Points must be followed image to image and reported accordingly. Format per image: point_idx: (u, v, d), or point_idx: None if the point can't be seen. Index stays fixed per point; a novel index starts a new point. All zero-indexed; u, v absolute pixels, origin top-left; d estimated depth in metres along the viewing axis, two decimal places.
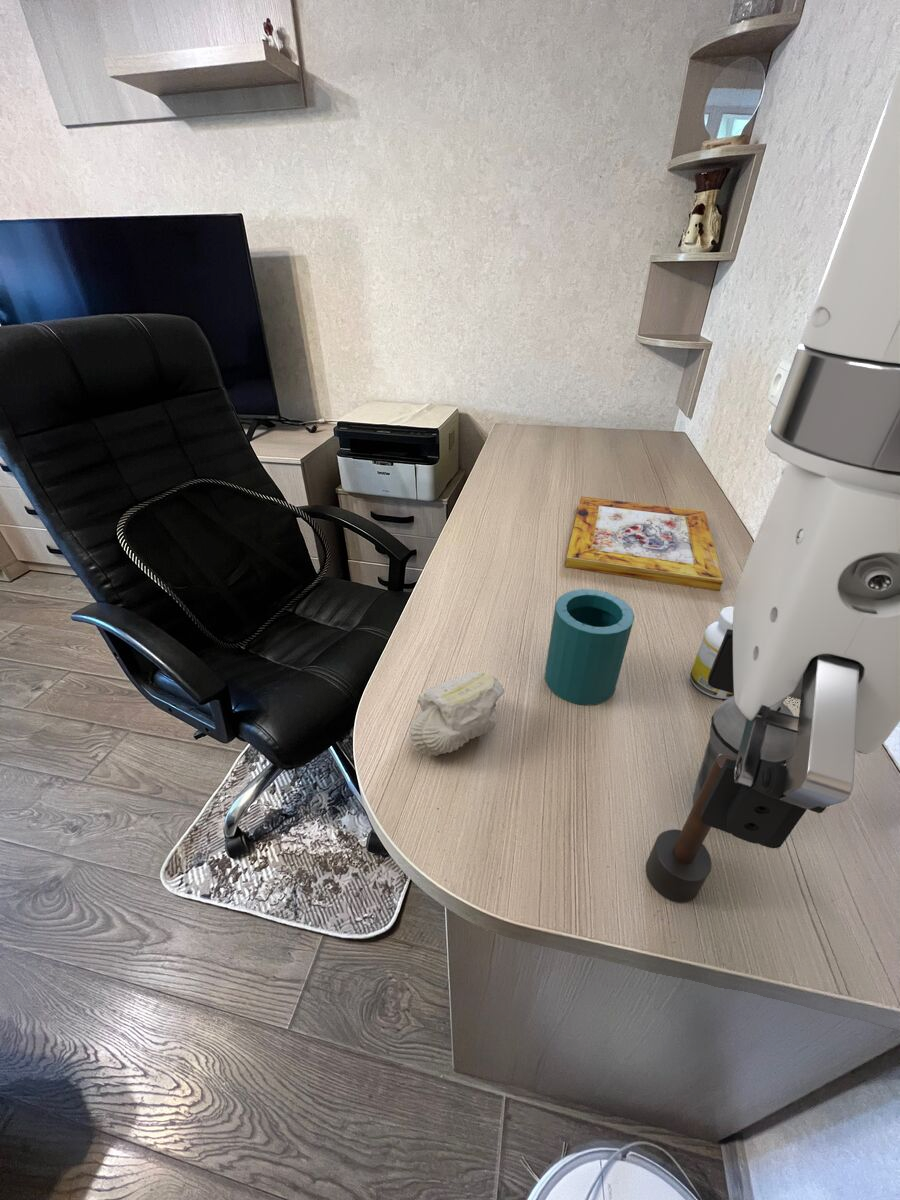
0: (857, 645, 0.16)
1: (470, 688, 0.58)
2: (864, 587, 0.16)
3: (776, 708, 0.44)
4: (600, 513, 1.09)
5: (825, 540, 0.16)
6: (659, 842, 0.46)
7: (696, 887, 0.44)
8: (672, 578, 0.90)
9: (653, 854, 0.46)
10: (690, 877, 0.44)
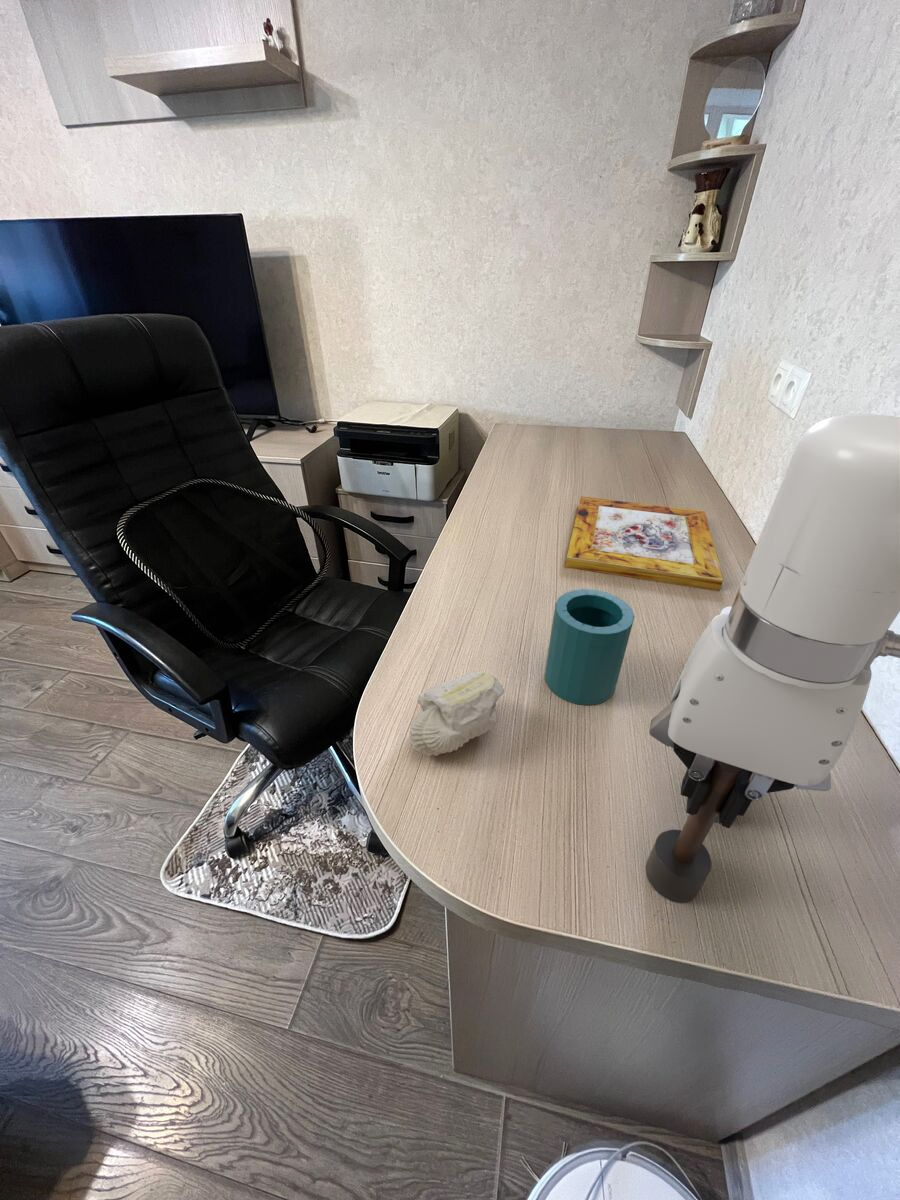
0: None
1: (470, 688, 0.58)
2: None
3: None
4: (600, 513, 1.09)
5: (862, 705, 0.30)
6: (659, 842, 0.46)
7: (696, 887, 0.44)
8: (672, 578, 0.90)
9: (653, 854, 0.46)
10: (690, 877, 0.44)
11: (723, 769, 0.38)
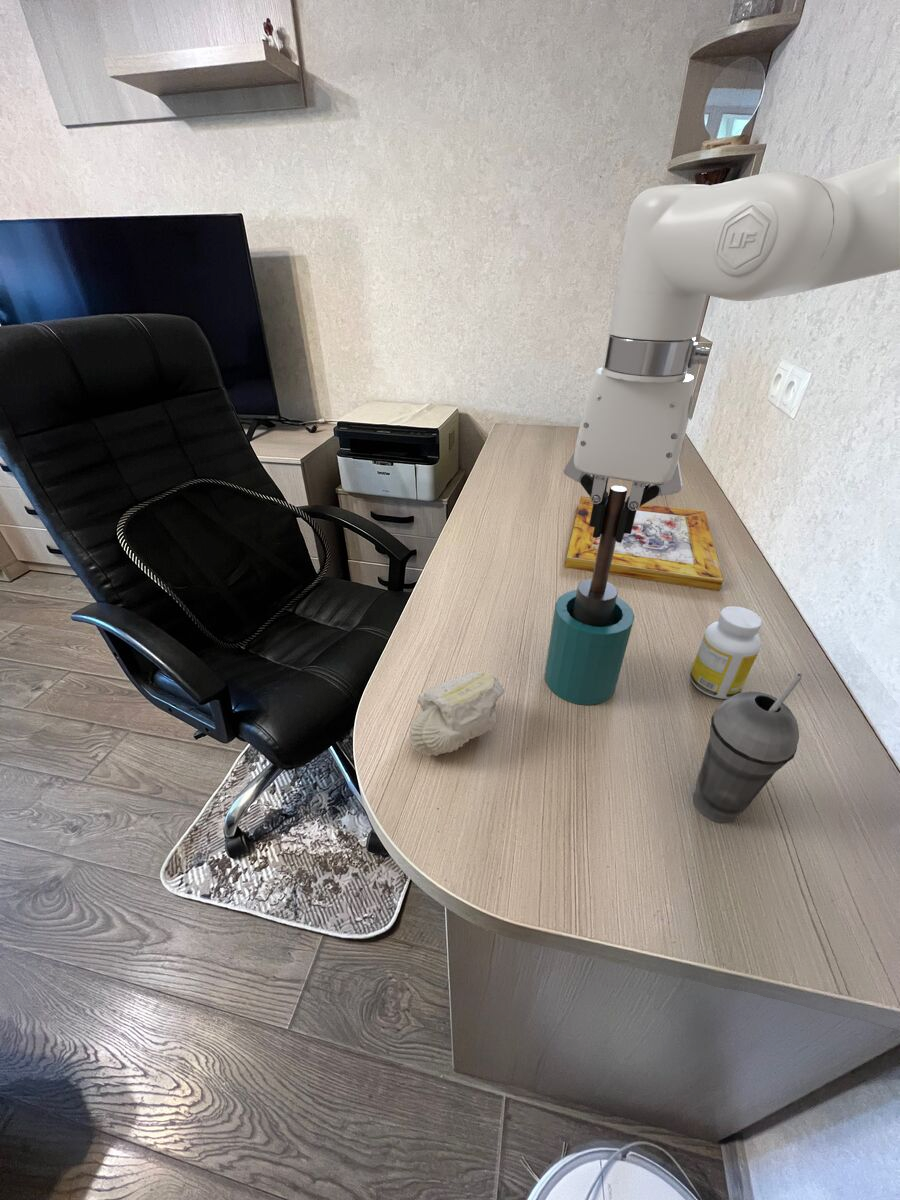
0: None
1: (470, 688, 0.58)
2: None
3: (776, 708, 0.44)
4: None
5: (685, 400, 0.45)
6: (581, 584, 0.62)
7: (605, 609, 0.60)
8: (672, 578, 0.90)
9: (576, 593, 0.62)
10: (600, 598, 0.59)
11: (613, 491, 0.53)
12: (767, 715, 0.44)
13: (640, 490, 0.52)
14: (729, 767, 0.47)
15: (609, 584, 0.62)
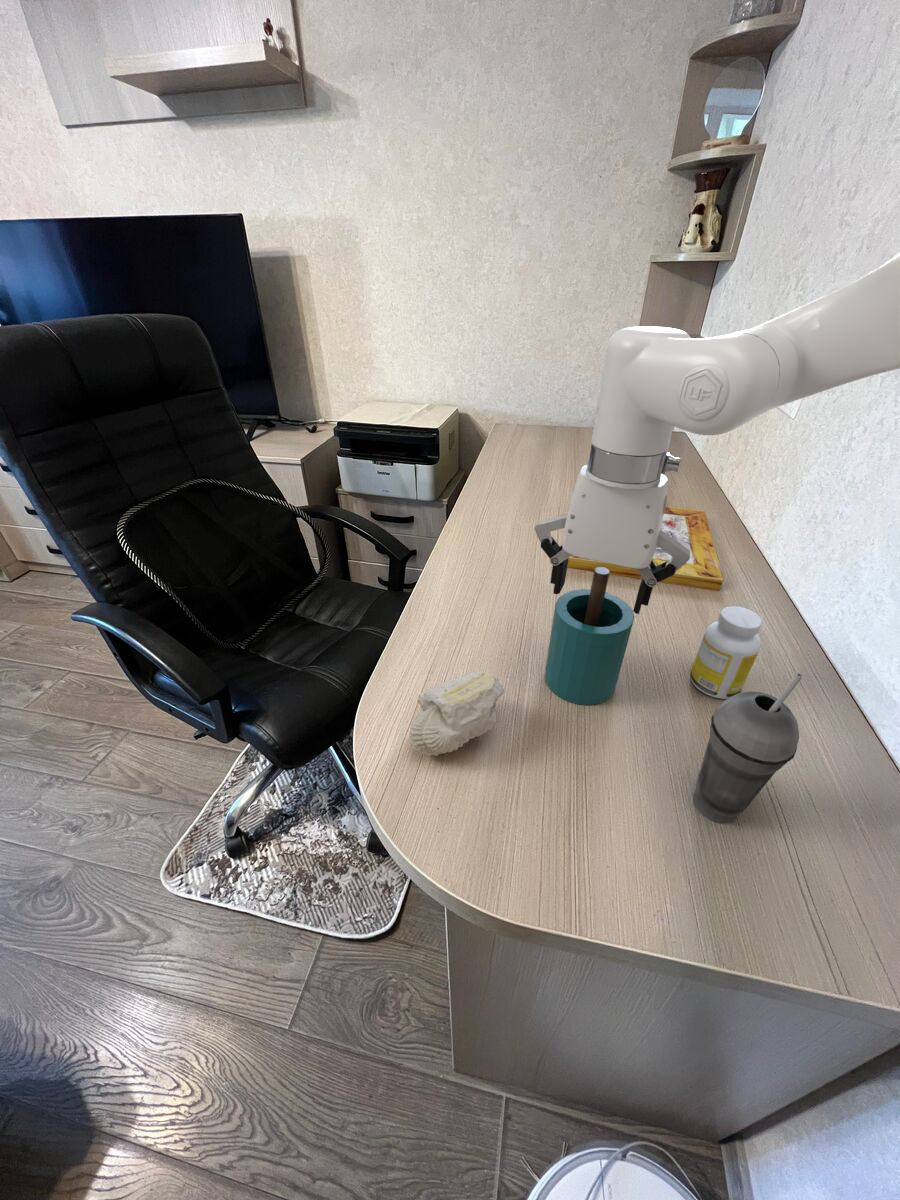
0: (661, 523, 0.54)
1: (470, 688, 0.58)
2: None
3: (776, 708, 0.44)
4: None
5: (659, 502, 0.51)
6: None
7: None
8: (672, 578, 0.90)
9: None
10: None
11: (597, 573, 0.59)
12: (767, 715, 0.44)
13: (646, 569, 0.56)
14: (729, 767, 0.47)
15: None
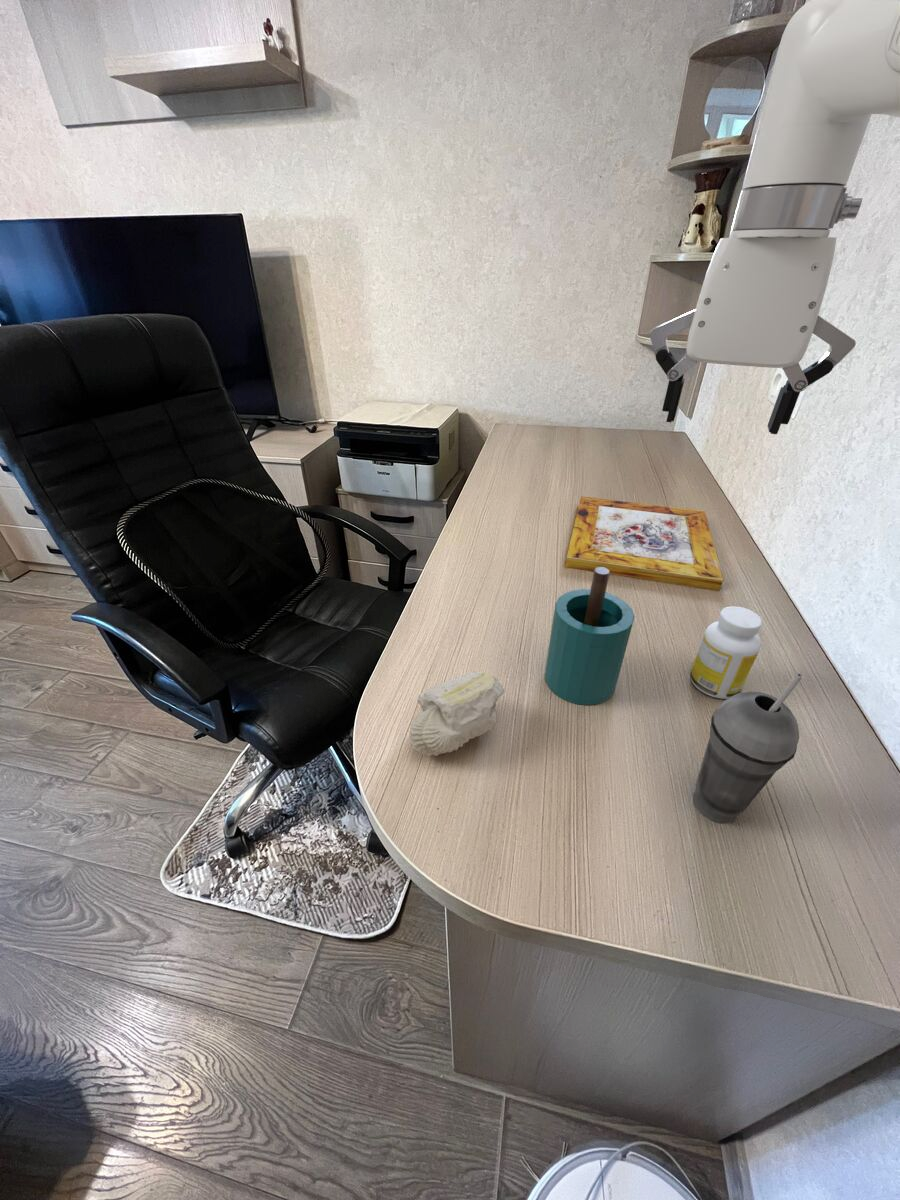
0: None
1: (470, 688, 0.58)
2: None
3: (776, 708, 0.44)
4: (600, 513, 1.09)
5: (830, 260, 0.41)
6: None
7: None
8: (672, 578, 0.90)
9: None
10: None
11: (597, 573, 0.59)
12: (767, 715, 0.44)
13: (795, 366, 0.46)
14: (729, 767, 0.47)
15: None
